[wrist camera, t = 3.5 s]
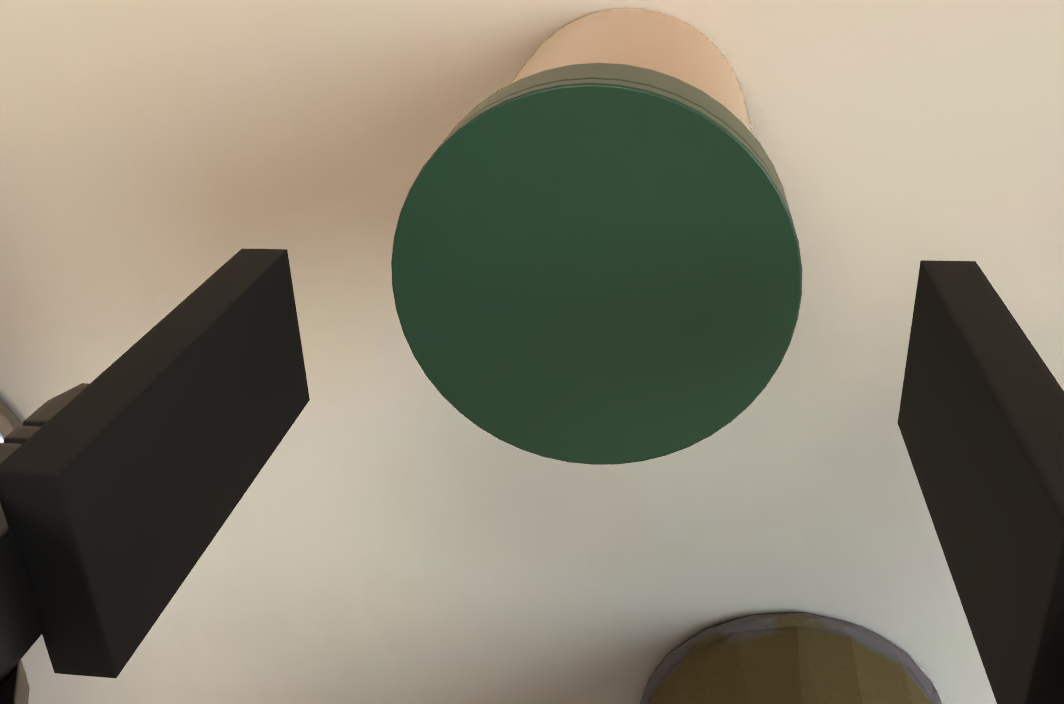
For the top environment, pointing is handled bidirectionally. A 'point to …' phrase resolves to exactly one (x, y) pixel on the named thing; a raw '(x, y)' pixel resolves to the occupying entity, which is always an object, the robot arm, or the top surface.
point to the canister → (789, 665)
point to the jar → (643, 51)
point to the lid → (598, 265)
